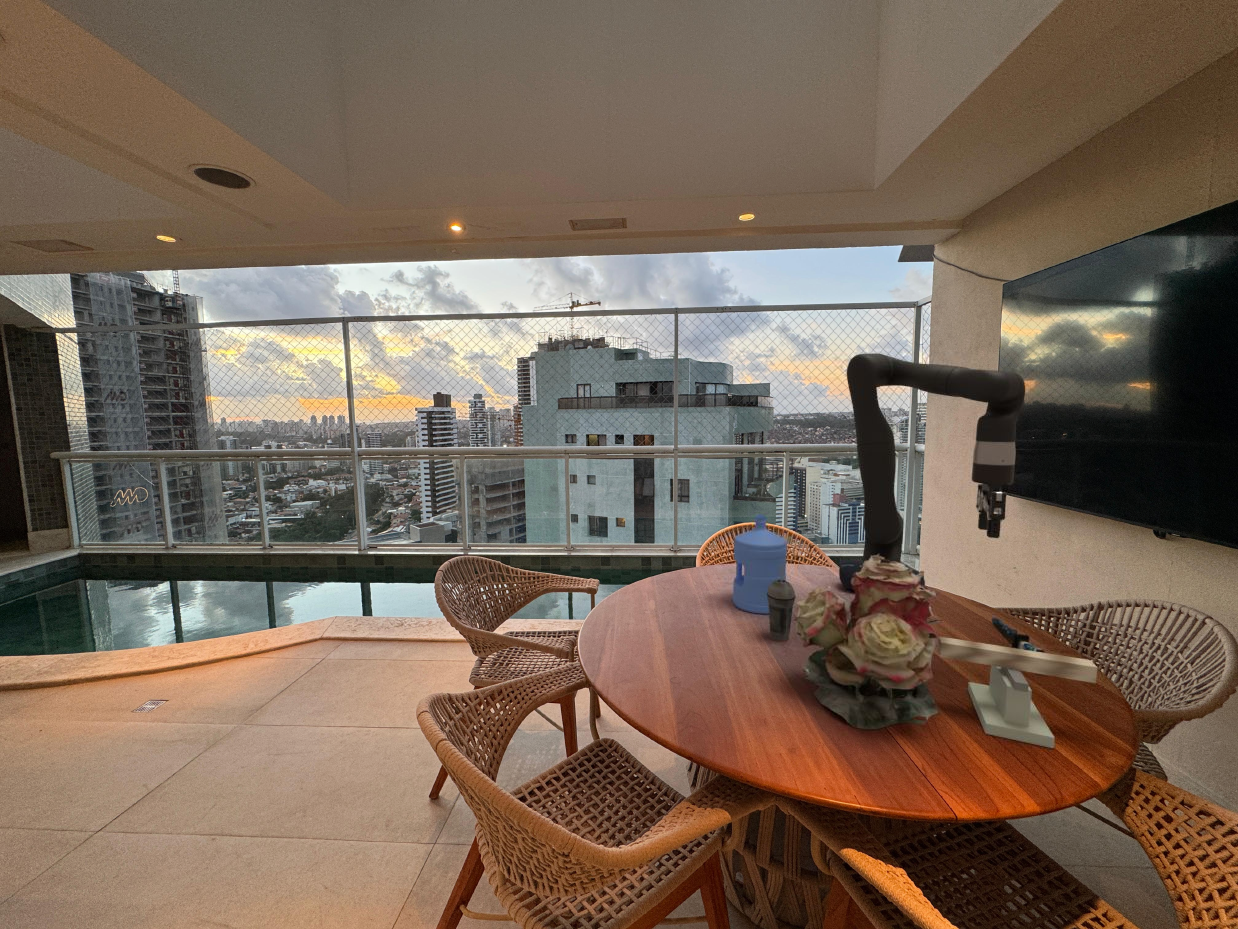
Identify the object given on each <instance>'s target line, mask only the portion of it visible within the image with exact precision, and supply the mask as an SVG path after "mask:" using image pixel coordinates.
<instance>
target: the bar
mask: <svg viewBox="0 0 1238 929" xmlns="http://www.w3.org/2000/svg"><path fill="white" fill-rule="evenodd" d="M937 652H938V655H939V657H940V658H945V659H952V660H957V661H963V662H969V663H974V664H979V665H986V666H990V667H991V666H997V667H1003V668H1009V669H1015V670H1020V672H1021V671H1022V672H1028V673H1034V674H1039V675H1045V676H1052V677H1058V678H1062V679H1067V680H1073V681H1080V682H1085V683H1086V682H1087V683H1092V684H1097V675H1098V666H1097V665H1096V664H1095V663H1094V662H1093V661H1092V660H1090V659H1087V658H1086V659H1085V658H1080V657H1073V656H1067V655H1061V654H1052V653H1047V652H1045V653H1042V652H1035V651H1029V650H1022V649H1016V648H1011V647H1009V646H1002V645H997V644H989V643H985V642H984V643H983V642H979V641H978V642H977V641H971V640H964V639H958V638H951V637H945V636H938V643H937Z"/></svg>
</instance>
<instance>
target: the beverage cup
mask: <svg viewBox="0 0 1238 929" xmlns="http://www.w3.org/2000/svg"><path fill="white" fill-rule="evenodd" d="M767 599H768V603H769V614H768V618H769V632H770V633H769V634H770V638H771V639H772V640H774V641H777V642H787V641H788V640H789V638H790V632H791V625H792V624H791V623H792V618H793V616H792V615H793V611H794V610H793V609H794V604H795V602H796V601H795V600H796V591H795V589H794V587H793V585H792V584H791V583H790V582H788V580H786V581H785V580H783V565H781V578H780V580H776V581H773V582H772V583H771V584H770V586H769V587H768V590H767Z"/></svg>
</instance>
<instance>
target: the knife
mask: <svg viewBox="0 0 1238 929" xmlns="http://www.w3.org/2000/svg"><path fill="white" fill-rule="evenodd" d="M991 622H992V624H993V626H995V628H996V629H997V630H998V631H999V632H1000V633H1001V634H1002V635H1003V636H1004V637H1005V638H1007V639H1008V640H1009V641H1011V647H1010V648H1016V649H1022V650H1029V651H1035V652H1042V653H1046V651H1045V650H1043V649H1042V648H1040V647H1037V646H1035V645H1034V644H1032V643H1030V642H1029V641H1030V636H1029V635H1028V634H1021V633H1018V629H1013V628H1011V627H1010V626H1008V625H1007V624H1005V622H1003V621H1002V620H1001V619H1000V618H997V617H992V618H991Z"/></svg>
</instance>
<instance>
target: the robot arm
mask: <svg viewBox="0 0 1238 929" xmlns="http://www.w3.org/2000/svg"><path fill="white" fill-rule="evenodd" d="M846 367H847V368H846V380H847V385H848V391H849V396H850V401H851V405H852V409H853V410H852V411H853V419H854V427H855V438H856V439H855V440H856V450H857V459H858V467H859V468H858V469H859V473H860V479H861V484H862V489H863V500H864V501H863V503H864V506H863V509H864V510H863V530H864V532H865V535H864V536H865V537H864V547H863V548H864V549H863V553H862V554H863V555H862V562H863V565H864V562H865V561H868V560H869V559H870V558H871V555H872V556H873V555H875V556H876V555H877V554H879V556H881V557H884V559H887V560H888V561H893V562H894V561H895V562H898V563H902V562H901V559H902V551H903V550H902V548H903V535H904V534H903V533H904V520H903V517H902V515H901V514H900V512H899V511H898V509H897V503H896V502H897V501H896V497H895V496H896V495H895V481H896V472H897V471H896V466H897V458H896V454H897V453H896V444H895V436H894V431H893V429H892V427H891V425H890V424H889V421H887V419H886V416H885V415H884V413H883V412H882V410H881V407H880V405H879V404H880V403H879V400H878V399H879V398H878V388H880V387H888V386H889V387H892V386H893V387H895V386H898V387H899V386H900V387H908V388H912V389H916V390H919V391H922V392H926V393H929V394H934V395H938V396H939V395H940V396H947V397H952V398H953V397H954V398H963V399H967V400H970V401H975V402H980V403H987V406H986V410H985V413H984V414H983V415H982V416H980V417H979V418H978V420H977V424H976V430H975V431H976V434H975V444H974V448H973V456H972V467H971V468H972V472H971V481H972V482H973V483H977V494H976V496H977V497H976V505H975V507H976V510H977V513H978V520H977V521H978V523H977V528H978V529H979V530H981V531H986V536H987V537H988V538H990V539H999V538H1000V537H1001V536H1000V534H1001V523H1002V521H1005V520H1006V505H1007V504H1006V503H1007V495H1008V494H1007V492H1006V491H1002V490H1003V489H1002V486H1008V485H1012V484H1013V483H1014V480H1015V478H1014V477H1015V466H1016V453H1017V451H1016V436H1017V435H1016V434H1017V421H1018V418H1019V415H1020V414H1021V410H1022V407H1023V404H1024V401H1025V400H1024V399H1025V396H1026V383H1025V381H1024V378H1023V377H1022V376H1021V375H1020V374H1019V373H1016V372H1015V371H1009V370H992V369H976V368H969V367H966V366H957V365H948V364H936V363H922V362H921V363H919V362H914V361H913V362H912V361H908V360H907V361H906V360H904V359H899V358H896V357H892V356H889V355H886V354H882V353H876V352H875V353H860V354H856V355H854V356H853V357H852V358H851V359H850V360H849V362H848V364H847V366H846Z"/></svg>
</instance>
